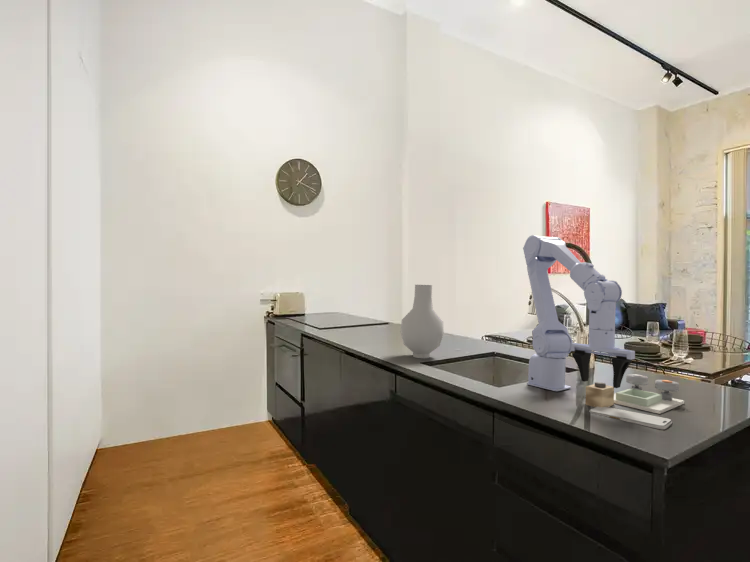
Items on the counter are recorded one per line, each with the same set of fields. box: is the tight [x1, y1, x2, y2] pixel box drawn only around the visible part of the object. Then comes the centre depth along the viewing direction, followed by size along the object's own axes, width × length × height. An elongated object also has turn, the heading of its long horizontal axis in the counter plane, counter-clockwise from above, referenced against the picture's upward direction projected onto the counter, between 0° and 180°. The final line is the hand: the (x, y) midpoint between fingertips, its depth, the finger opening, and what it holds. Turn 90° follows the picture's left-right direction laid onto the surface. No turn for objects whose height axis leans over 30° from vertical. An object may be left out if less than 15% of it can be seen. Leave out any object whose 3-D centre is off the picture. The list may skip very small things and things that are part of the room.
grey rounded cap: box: [654, 379, 680, 393], centre depth 108 cm, size 5×5×3 cm
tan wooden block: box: [584, 381, 615, 408], centre depth 104 cm, size 4×6×5 cm, turn 127°
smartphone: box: [588, 406, 673, 430], centre depth 94 cm, size 7×1×15 cm
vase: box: [400, 284, 445, 359], centre depth 163 cm, size 17×16×28 cm
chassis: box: [614, 373, 685, 415], centre depth 107 cm, size 13×16×6 cm
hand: (600, 384), depth 104 cm, fingers open, 7 cm apart
